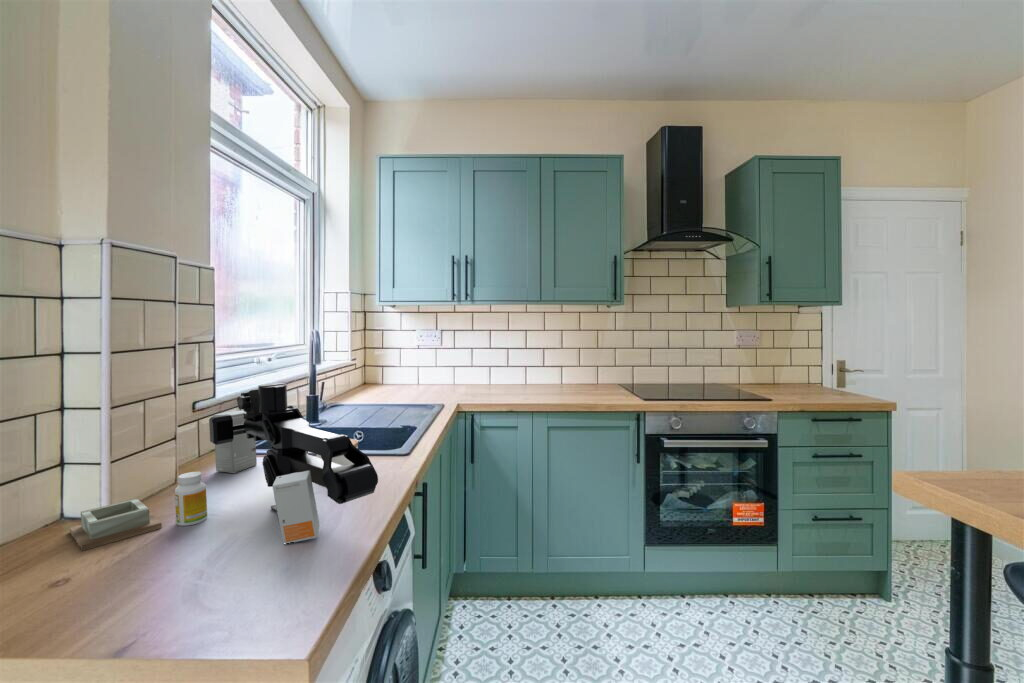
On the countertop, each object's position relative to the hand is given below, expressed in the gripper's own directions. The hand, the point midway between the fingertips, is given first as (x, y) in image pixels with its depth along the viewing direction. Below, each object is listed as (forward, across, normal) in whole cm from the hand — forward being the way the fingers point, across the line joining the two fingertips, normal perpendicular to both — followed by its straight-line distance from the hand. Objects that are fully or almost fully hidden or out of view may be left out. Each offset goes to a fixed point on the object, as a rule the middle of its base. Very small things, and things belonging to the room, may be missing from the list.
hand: (240, 419), depth 121 cm
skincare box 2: (-41, +6, +16) cm, 45 cm away
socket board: (-8, +27, +16) cm, 33 cm away
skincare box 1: (+15, -4, +16) cm, 22 cm away
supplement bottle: (-15, +16, +17) cm, 28 cm away
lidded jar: (-10, -20, +17) cm, 28 cm away
